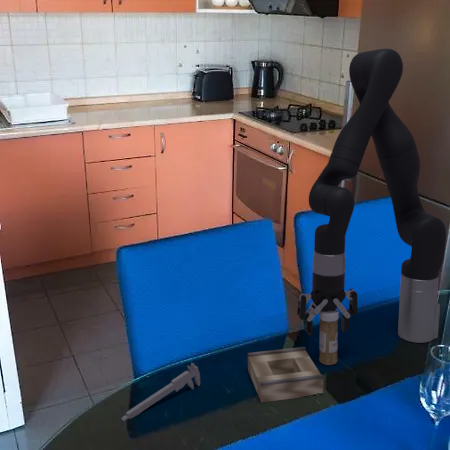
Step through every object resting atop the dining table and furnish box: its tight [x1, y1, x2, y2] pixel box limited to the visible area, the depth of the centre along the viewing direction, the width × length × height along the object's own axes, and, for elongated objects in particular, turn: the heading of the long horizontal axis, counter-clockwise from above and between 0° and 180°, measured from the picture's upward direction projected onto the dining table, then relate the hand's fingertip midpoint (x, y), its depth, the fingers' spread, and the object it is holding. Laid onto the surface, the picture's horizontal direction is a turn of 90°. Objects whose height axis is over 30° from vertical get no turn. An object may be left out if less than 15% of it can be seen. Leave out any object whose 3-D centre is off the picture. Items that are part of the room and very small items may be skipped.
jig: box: [247, 346, 324, 403], centre depth 135 cm, size 14×14×5 cm
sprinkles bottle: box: [318, 308, 340, 366], centre depth 143 cm, size 5×5×14 cm
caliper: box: [120, 362, 201, 422], centre depth 129 cm, size 20×1×6 cm, turn 131°
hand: (326, 332), depth 143 cm, fingers open, 8 cm apart
